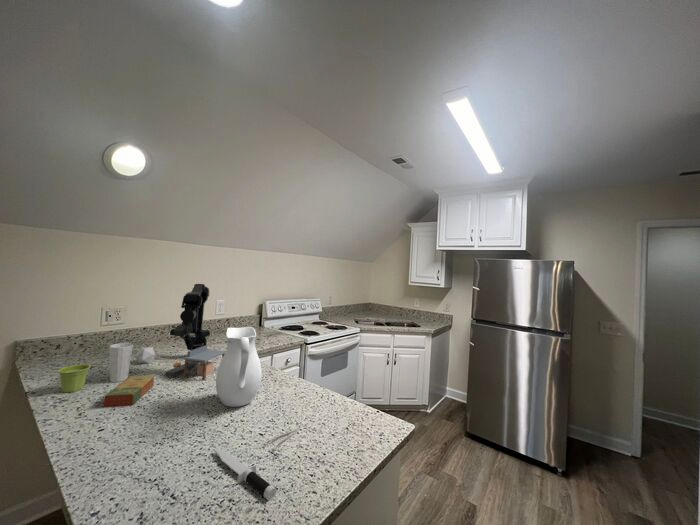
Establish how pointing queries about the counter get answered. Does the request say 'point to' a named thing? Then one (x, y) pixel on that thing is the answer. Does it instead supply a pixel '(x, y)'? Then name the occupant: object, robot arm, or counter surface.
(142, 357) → the die
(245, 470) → the knife
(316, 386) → the counter surface
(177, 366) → the orange button
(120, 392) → the carton
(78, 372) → the plant pot
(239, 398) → the pitcher
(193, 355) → the lid
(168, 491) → the counter surface
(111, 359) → the cup
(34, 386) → the counter surface
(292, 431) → the tweezers
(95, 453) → the counter surface
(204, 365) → the frame
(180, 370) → the console
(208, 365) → the block
